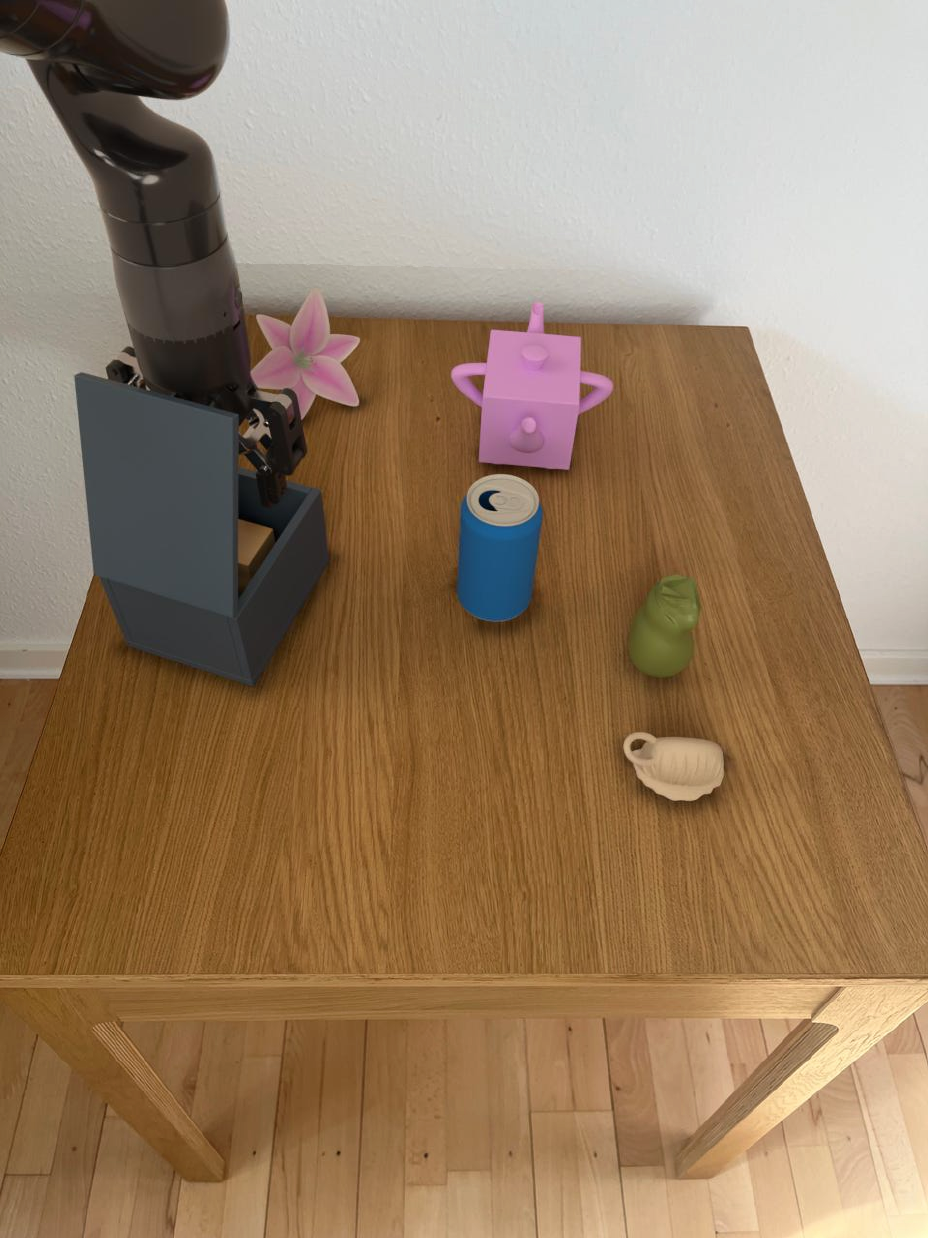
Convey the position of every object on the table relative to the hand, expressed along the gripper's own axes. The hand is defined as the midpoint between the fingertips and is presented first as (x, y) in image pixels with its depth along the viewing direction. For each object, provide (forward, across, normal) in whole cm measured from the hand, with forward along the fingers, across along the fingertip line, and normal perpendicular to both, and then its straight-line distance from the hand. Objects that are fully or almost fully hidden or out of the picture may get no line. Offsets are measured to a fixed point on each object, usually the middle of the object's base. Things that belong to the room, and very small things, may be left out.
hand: (223, 487), depth 73 cm
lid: (-5, 0, -7) cm, 9 cm away
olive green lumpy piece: (+11, +36, +4) cm, 38 cm away
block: (+11, 0, 0) cm, 11 cm away
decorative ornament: (+11, +39, -6) cm, 41 cm away
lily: (+11, -6, +25) cm, 28 cm away
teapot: (+11, +18, +27) cm, 34 cm away
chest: (+11, 0, -2) cm, 12 cm away
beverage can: (+11, +21, +6) cm, 25 cm away
